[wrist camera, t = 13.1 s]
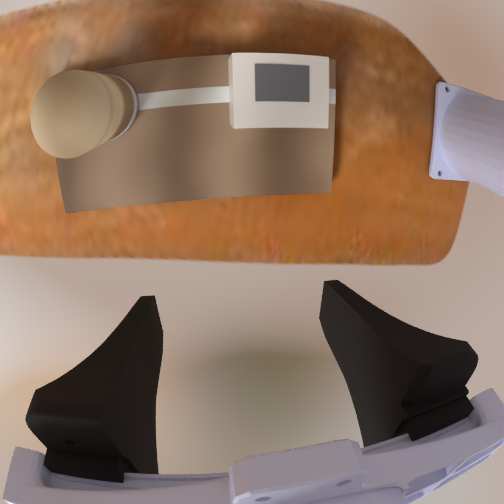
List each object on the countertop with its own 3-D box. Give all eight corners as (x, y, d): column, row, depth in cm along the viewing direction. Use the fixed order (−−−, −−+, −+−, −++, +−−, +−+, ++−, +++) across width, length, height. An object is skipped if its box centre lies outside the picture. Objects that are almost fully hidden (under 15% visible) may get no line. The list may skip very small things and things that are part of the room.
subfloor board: (328, 60, 18) (335, 59, 17) (325, 187, 22) (331, 193, 21) (56, 82, 16) (48, 82, 14) (72, 207, 20) (66, 213, 19)
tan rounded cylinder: (137, 69, 15) (108, 59, 10) (141, 135, 17) (114, 152, 12) (75, 82, 15) (27, 81, 10) (80, 144, 17) (35, 166, 12)
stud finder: (311, 61, 16) (329, 56, 14) (311, 123, 18) (328, 128, 16) (228, 59, 16) (232, 52, 13) (229, 124, 18) (234, 128, 15)
